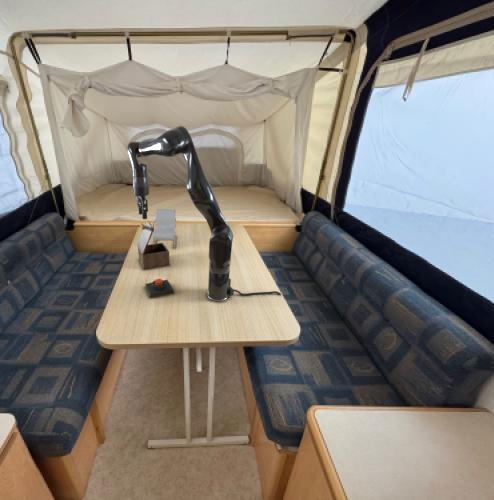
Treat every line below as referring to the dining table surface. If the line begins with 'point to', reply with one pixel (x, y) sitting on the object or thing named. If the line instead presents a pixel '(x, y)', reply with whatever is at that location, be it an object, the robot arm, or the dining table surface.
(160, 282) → the button
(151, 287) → the control block
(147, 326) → the dining table surface
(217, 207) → the robot arm
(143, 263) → the chest
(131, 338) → the dining table surface
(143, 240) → the lid
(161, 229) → the chair
